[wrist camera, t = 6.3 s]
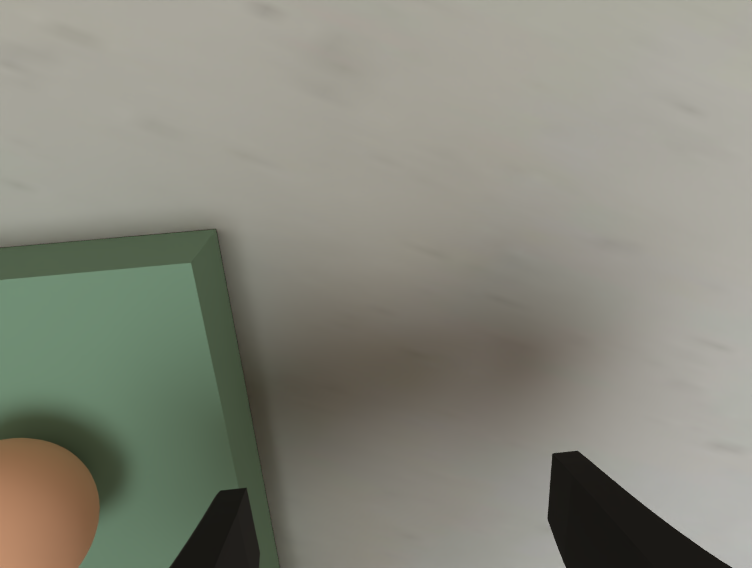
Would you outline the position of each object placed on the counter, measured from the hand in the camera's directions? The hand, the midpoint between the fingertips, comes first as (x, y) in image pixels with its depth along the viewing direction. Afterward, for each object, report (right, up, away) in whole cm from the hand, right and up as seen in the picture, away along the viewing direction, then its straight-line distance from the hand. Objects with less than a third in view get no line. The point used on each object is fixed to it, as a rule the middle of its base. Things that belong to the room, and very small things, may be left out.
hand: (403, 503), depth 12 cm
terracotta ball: (-10, -1, 0) cm, 10 cm away
